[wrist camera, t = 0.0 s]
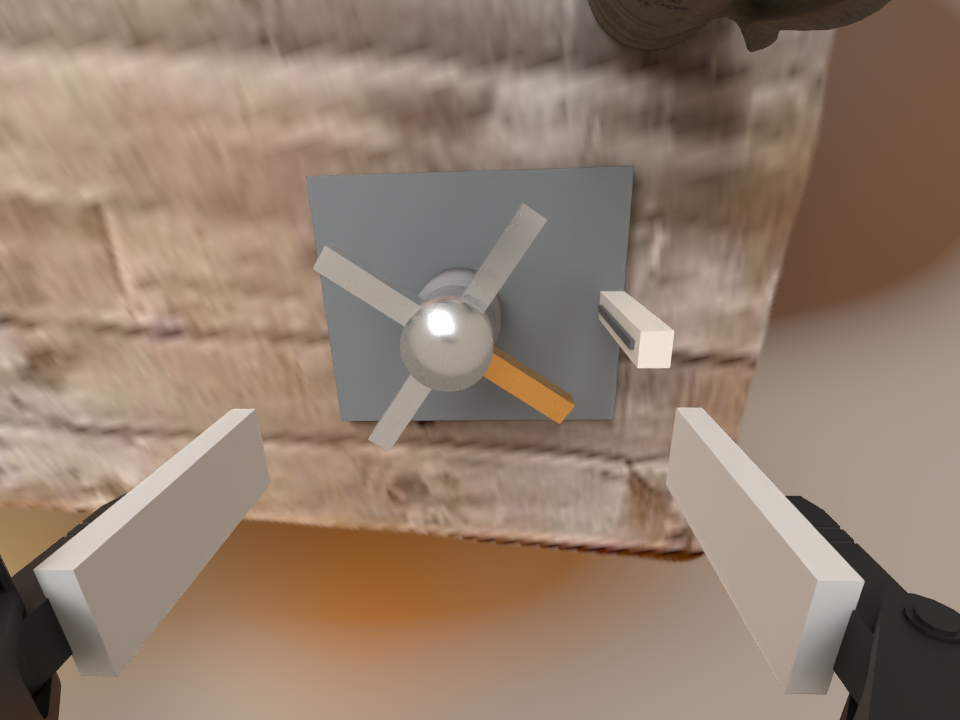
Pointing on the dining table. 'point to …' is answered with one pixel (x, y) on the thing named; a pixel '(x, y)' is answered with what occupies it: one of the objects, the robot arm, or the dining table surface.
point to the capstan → (449, 329)
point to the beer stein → (750, 3)
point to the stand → (518, 304)
